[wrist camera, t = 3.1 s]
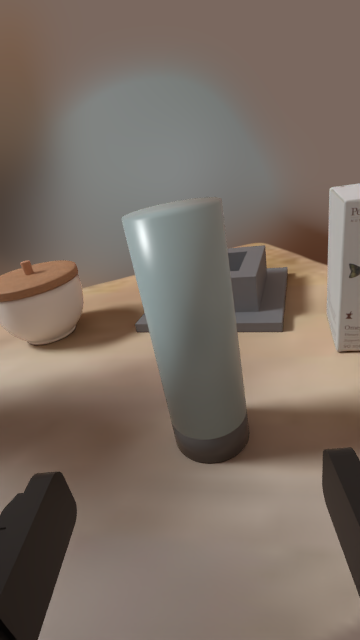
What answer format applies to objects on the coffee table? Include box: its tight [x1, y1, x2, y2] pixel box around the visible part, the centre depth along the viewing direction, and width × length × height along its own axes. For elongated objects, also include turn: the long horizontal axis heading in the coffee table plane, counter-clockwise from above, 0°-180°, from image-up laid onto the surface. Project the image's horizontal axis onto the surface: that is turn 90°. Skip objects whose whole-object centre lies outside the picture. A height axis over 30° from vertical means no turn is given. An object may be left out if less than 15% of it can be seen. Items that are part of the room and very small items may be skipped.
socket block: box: [135, 245, 288, 332], centre depth 42 cm, size 16×16×5 cm
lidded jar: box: [0, 260, 84, 345], centre depth 41 cm, size 11×11×9 cm
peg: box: [122, 197, 249, 463], centre depth 20 cm, size 5×5×15 cm
